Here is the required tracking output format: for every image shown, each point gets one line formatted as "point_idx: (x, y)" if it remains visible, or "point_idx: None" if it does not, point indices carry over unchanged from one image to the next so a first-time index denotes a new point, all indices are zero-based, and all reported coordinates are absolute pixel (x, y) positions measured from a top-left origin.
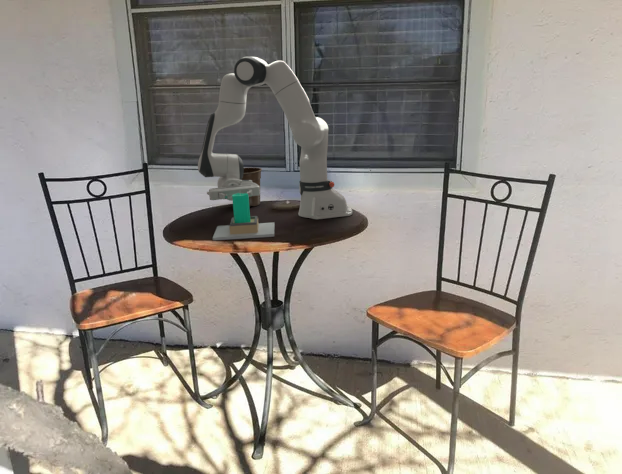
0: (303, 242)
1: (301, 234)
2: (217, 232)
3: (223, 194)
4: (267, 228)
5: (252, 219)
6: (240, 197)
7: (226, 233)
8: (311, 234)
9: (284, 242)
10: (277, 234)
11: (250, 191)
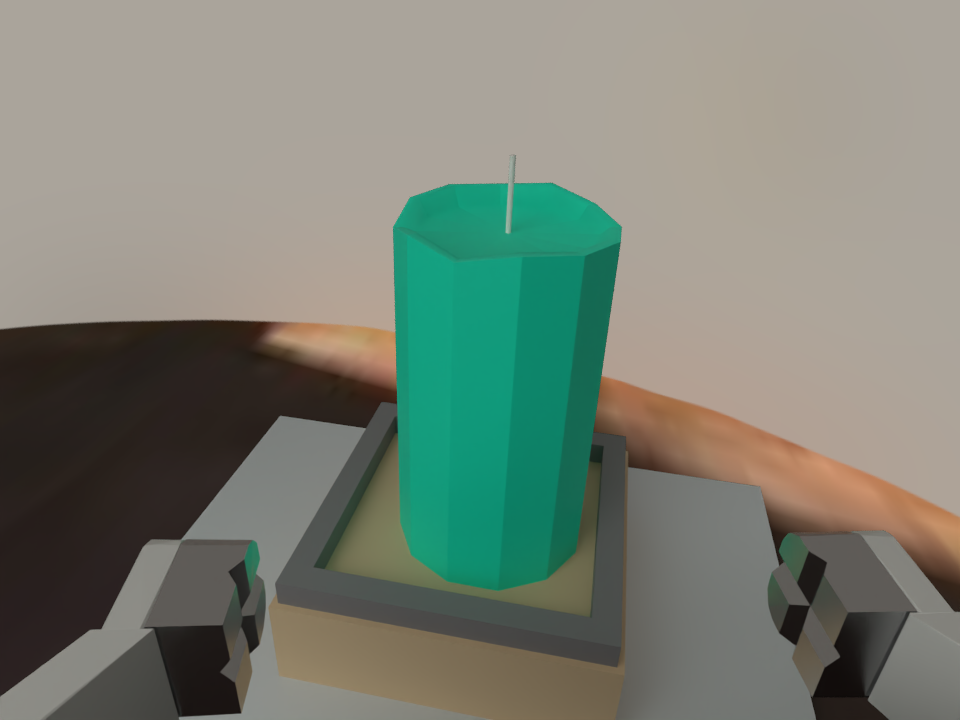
0: (194, 325)
1: (92, 411)
2: (759, 600)
3: (906, 571)
4: (253, 537)
5: (361, 566)
6: (515, 201)
7: (656, 543)
8: (41, 393)
9: (283, 349)
10: (235, 461)
11: (123, 592)
